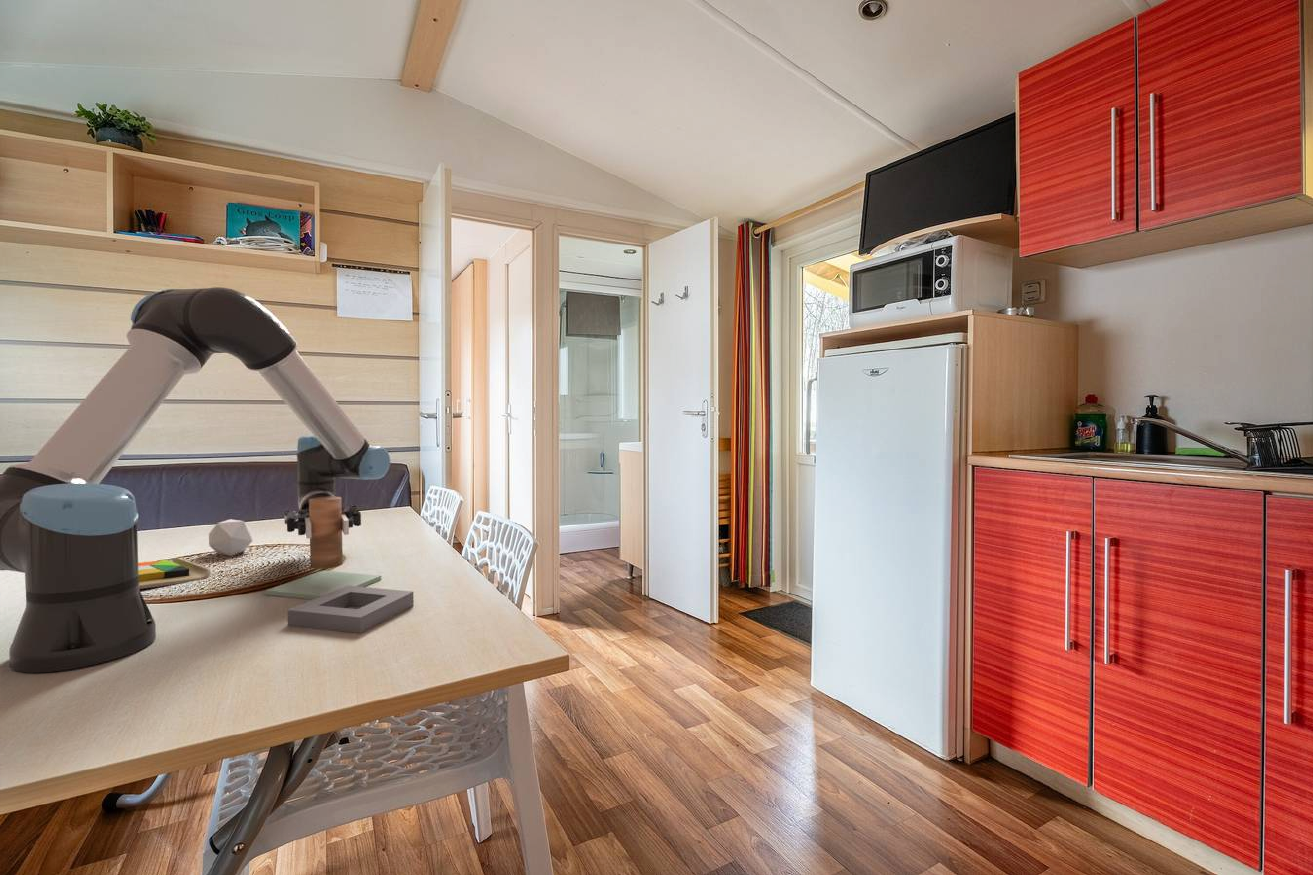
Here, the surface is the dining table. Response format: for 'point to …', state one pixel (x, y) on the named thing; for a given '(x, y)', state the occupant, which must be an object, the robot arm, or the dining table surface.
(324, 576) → the board
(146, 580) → the wooden puzzle
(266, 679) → the dining table surface
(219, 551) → the die
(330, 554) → the brown wooden cylinder
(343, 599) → the pocket plate
